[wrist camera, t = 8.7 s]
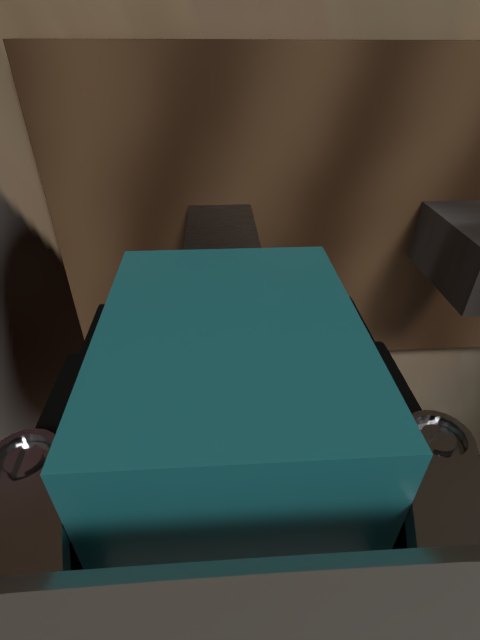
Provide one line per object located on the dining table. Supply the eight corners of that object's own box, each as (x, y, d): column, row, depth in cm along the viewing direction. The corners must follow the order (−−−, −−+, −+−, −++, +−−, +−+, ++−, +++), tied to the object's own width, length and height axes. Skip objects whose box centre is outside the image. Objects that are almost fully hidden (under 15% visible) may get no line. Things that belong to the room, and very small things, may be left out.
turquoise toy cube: (322, 246, 11) (432, 454, 6) (304, 387, 14) (364, 611, 9) (125, 250, 11) (39, 475, 5) (149, 393, 14) (111, 630, 8)
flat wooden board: (661, 41, 16) (869, 44, 11) (517, 334, 24) (598, 413, 19) (14, 38, 14) (-87, 41, 9) (94, 350, 22) (62, 439, 17)
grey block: (250, 204, 17) (264, 257, 13) (249, 260, 19) (261, 323, 15) (188, 205, 17) (182, 259, 13) (192, 261, 19) (187, 326, 14)
